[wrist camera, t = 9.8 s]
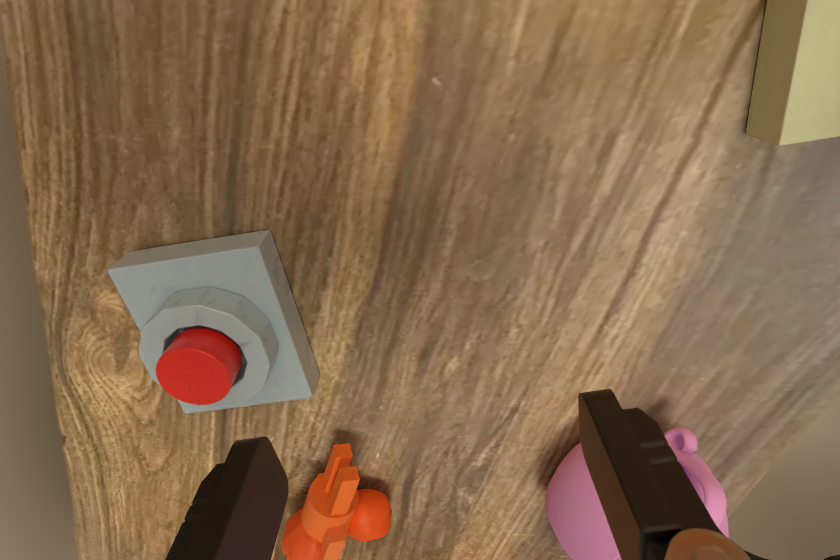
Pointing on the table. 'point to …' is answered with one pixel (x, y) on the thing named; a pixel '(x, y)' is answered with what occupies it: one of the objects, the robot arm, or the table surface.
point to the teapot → (582, 511)
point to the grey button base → (222, 312)
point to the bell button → (199, 366)
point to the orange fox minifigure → (335, 512)
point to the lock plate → (797, 73)
